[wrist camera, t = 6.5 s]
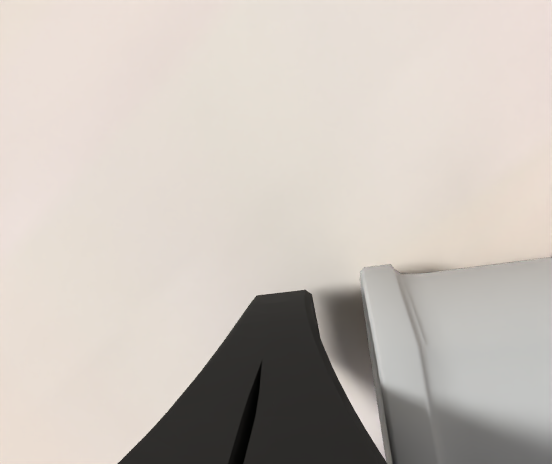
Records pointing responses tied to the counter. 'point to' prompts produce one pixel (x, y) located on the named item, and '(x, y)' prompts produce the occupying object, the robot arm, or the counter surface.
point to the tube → (462, 362)
